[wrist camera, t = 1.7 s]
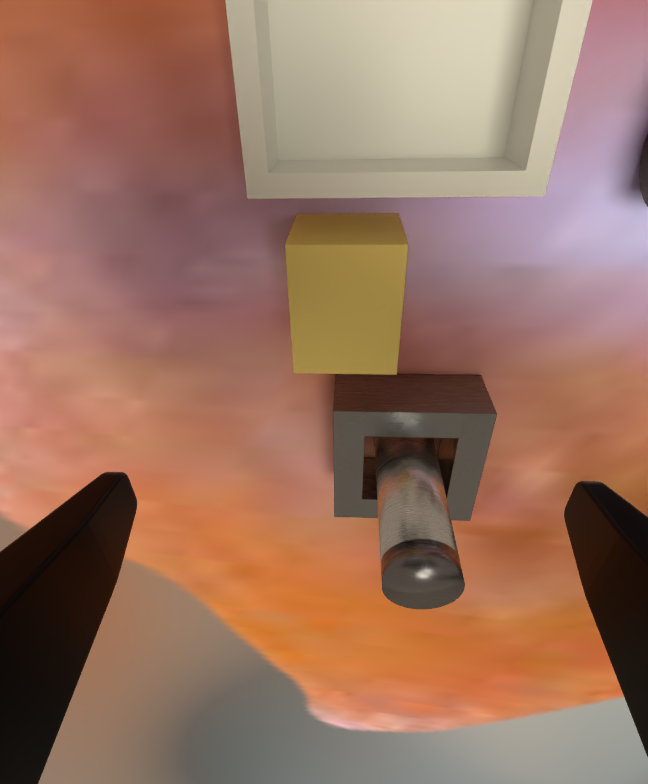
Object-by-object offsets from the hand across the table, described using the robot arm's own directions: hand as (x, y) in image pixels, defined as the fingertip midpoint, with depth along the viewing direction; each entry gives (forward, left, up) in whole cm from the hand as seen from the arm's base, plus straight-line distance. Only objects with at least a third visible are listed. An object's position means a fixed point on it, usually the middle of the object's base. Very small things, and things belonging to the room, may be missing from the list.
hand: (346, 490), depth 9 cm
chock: (0, 0, -13) cm, 13 cm away
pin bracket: (-9, -3, -12) cm, 15 cm away
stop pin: (-9, -3, -12) cm, 15 cm away
